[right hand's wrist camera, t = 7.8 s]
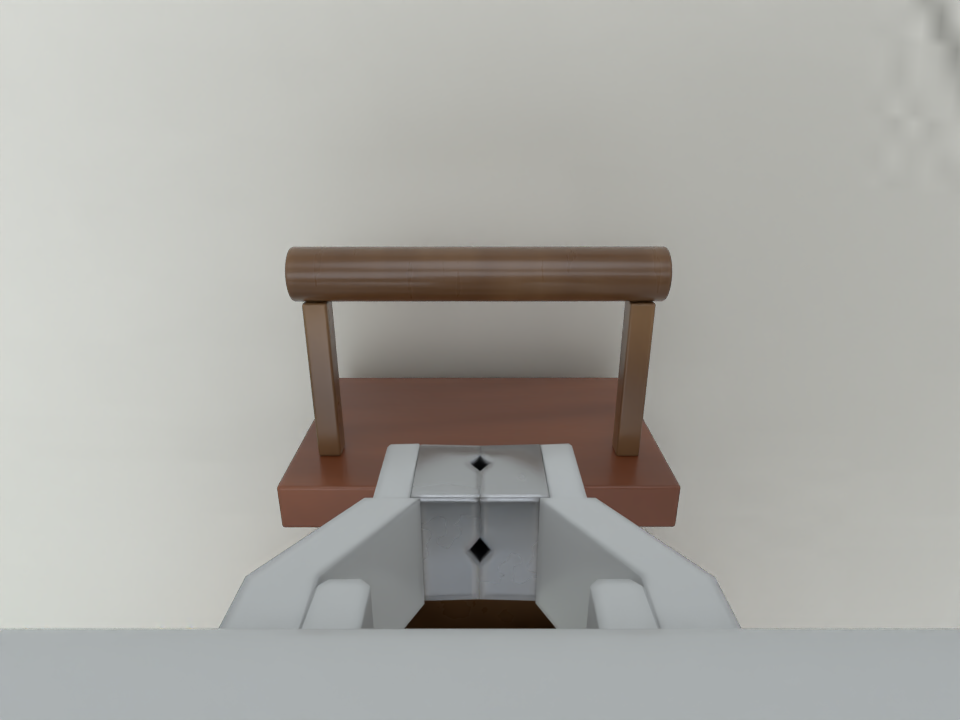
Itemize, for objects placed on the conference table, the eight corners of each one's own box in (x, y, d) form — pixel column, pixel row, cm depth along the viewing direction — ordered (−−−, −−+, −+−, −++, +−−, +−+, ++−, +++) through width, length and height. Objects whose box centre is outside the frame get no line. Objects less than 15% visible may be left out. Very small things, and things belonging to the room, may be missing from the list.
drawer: (321, 215, 19) (242, 263, 13) (636, 215, 19) (713, 263, 13) (367, 706, 27) (333, 885, 20) (590, 705, 27) (624, 884, 20)
